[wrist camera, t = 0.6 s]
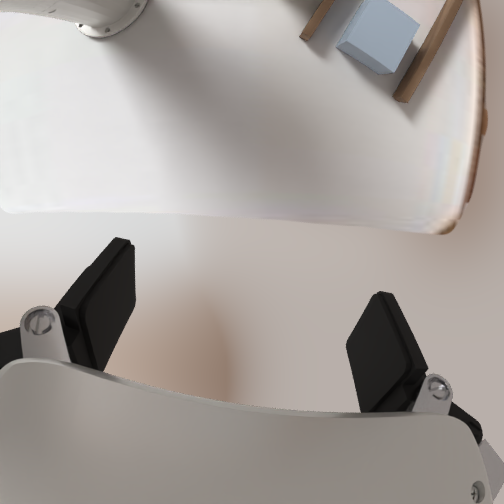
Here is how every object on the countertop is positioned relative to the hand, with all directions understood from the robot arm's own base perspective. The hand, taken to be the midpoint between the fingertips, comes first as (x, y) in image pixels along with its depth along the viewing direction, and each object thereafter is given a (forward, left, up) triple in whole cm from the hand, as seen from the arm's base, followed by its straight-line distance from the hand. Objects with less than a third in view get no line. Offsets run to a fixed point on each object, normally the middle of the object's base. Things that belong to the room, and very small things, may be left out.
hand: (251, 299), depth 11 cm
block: (+5, +23, -32) cm, 39 cm away
